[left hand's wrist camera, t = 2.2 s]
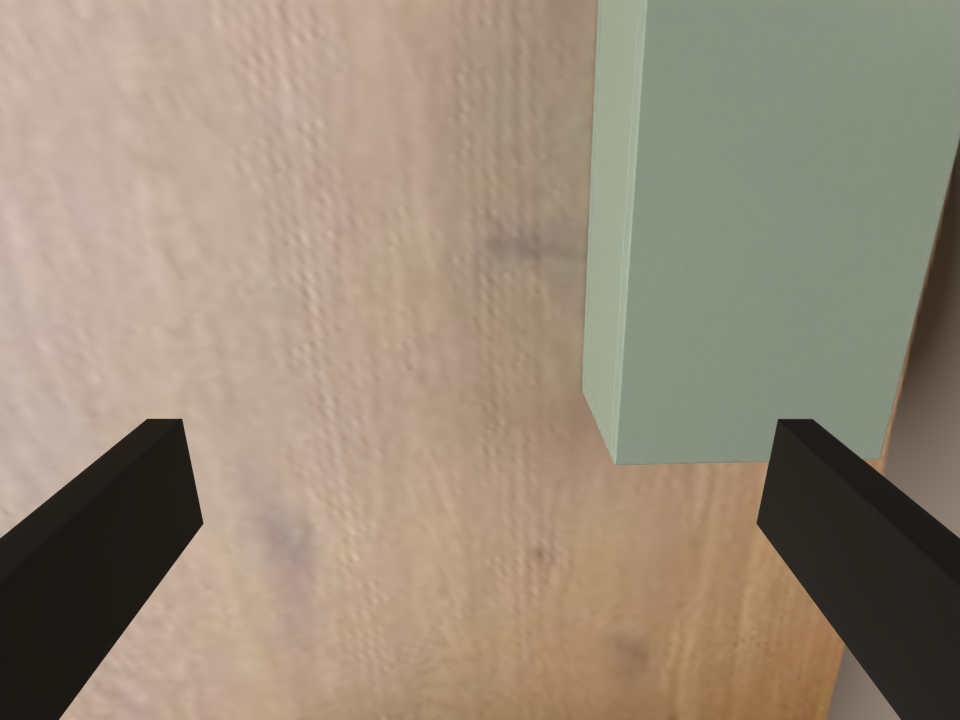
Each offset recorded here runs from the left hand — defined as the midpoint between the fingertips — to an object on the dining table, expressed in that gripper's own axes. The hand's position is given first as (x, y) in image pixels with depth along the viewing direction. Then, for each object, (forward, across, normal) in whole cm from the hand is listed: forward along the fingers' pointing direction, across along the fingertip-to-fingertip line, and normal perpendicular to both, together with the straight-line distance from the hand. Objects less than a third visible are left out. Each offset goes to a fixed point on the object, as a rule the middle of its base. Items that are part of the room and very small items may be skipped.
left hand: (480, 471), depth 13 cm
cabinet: (+18, -11, -4) cm, 21 cm away
